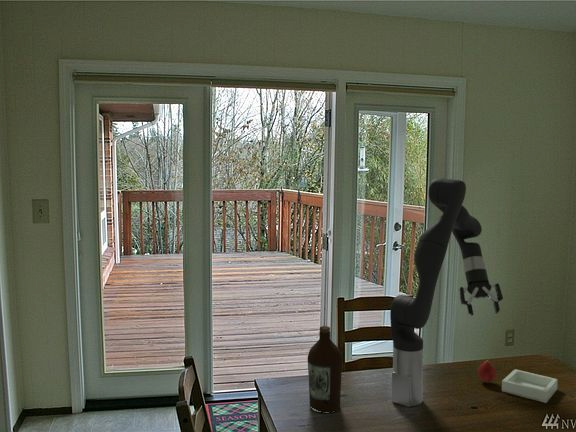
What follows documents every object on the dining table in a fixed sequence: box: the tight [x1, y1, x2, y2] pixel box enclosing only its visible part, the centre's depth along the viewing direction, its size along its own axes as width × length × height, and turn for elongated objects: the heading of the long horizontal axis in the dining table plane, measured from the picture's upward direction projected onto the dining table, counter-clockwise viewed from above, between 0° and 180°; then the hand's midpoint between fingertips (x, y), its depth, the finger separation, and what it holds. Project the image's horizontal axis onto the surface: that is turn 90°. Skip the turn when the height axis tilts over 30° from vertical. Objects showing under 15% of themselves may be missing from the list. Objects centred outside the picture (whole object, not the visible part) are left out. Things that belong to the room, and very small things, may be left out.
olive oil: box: [307, 325, 343, 413], centre depth 151 cm, size 11×11×25 cm
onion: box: [477, 359, 497, 384], centre depth 169 cm, size 6×6×8 cm
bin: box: [501, 368, 558, 404], centre depth 163 cm, size 13×13×4 cm
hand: (484, 314), depth 176 cm, fingers open, 8 cm apart
